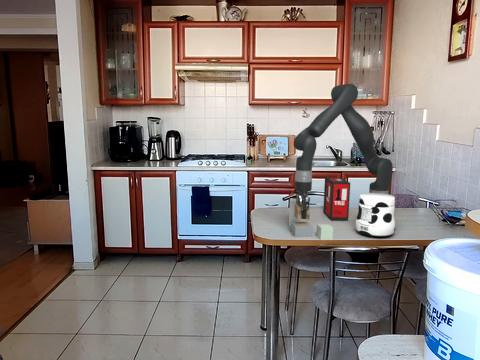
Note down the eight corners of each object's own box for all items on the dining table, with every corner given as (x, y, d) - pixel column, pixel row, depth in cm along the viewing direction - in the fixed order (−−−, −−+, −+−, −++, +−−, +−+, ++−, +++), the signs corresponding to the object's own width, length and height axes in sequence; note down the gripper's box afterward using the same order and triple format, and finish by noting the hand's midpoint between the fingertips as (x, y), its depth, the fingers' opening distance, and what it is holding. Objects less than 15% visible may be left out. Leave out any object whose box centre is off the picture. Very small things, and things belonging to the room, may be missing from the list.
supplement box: (303, 227, 192) (304, 202, 190) (288, 226, 193) (289, 201, 191) (304, 223, 199) (305, 198, 197) (289, 222, 200) (290, 198, 198)
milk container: (391, 230, 189) (394, 193, 186) (397, 241, 172) (400, 201, 169) (353, 227, 193) (356, 191, 190) (355, 238, 176) (358, 198, 173)
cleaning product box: (348, 220, 204) (350, 182, 201) (331, 220, 204) (333, 182, 200) (338, 212, 220) (340, 177, 217) (323, 212, 220) (324, 177, 217)
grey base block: (307, 231, 186) (307, 220, 185) (312, 237, 178) (312, 225, 177) (290, 232, 185) (290, 221, 184) (295, 237, 177) (295, 226, 176)
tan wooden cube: (305, 215, 183) (306, 204, 182) (309, 219, 177) (309, 207, 176) (294, 216, 182) (294, 204, 181) (297, 219, 177) (298, 207, 176)
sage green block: (328, 235, 180) (328, 224, 179) (332, 239, 174) (333, 227, 173) (316, 236, 179) (317, 224, 178) (320, 240, 173) (321, 228, 172)
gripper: (316, 182, 170) (314, 220, 173) (306, 177, 184) (305, 212, 187) (299, 182, 169) (298, 221, 172) (291, 177, 183) (289, 212, 186)
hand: (301, 216), depth 180 cm, fingers closed on tan wooden cube, 5 cm apart
